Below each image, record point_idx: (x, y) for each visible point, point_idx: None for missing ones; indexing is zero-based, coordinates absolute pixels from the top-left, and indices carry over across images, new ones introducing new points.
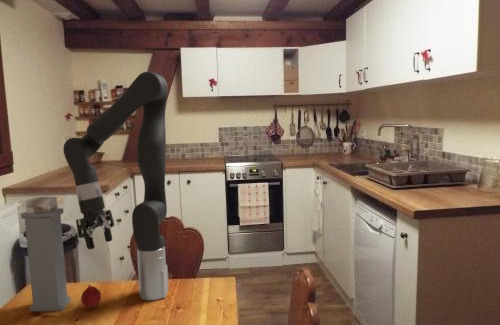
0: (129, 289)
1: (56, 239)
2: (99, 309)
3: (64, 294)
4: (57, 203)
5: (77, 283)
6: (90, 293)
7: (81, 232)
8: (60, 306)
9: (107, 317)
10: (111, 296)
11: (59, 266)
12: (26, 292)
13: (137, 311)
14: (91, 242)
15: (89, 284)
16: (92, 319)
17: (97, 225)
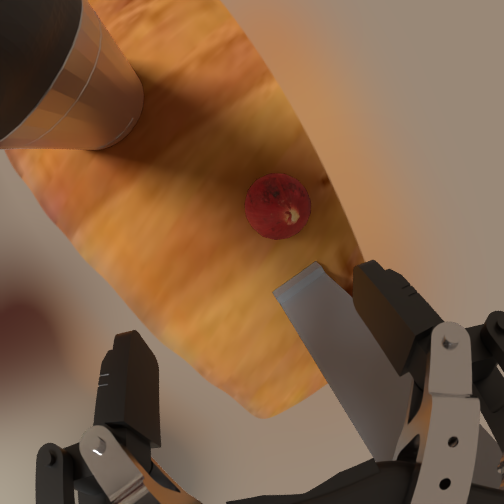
0: (118, 204)
1: None
2: (260, 171)
3: (299, 302)
4: None
5: (199, 367)
6: (299, 190)
7: (483, 392)
8: (322, 268)
9: (277, 111)
10: (184, 212)
11: (362, 352)
12: (294, 399)
13: (205, 60)
14: (403, 295)
15: (293, 220)
16: (305, 142)
17: (343, 495)
